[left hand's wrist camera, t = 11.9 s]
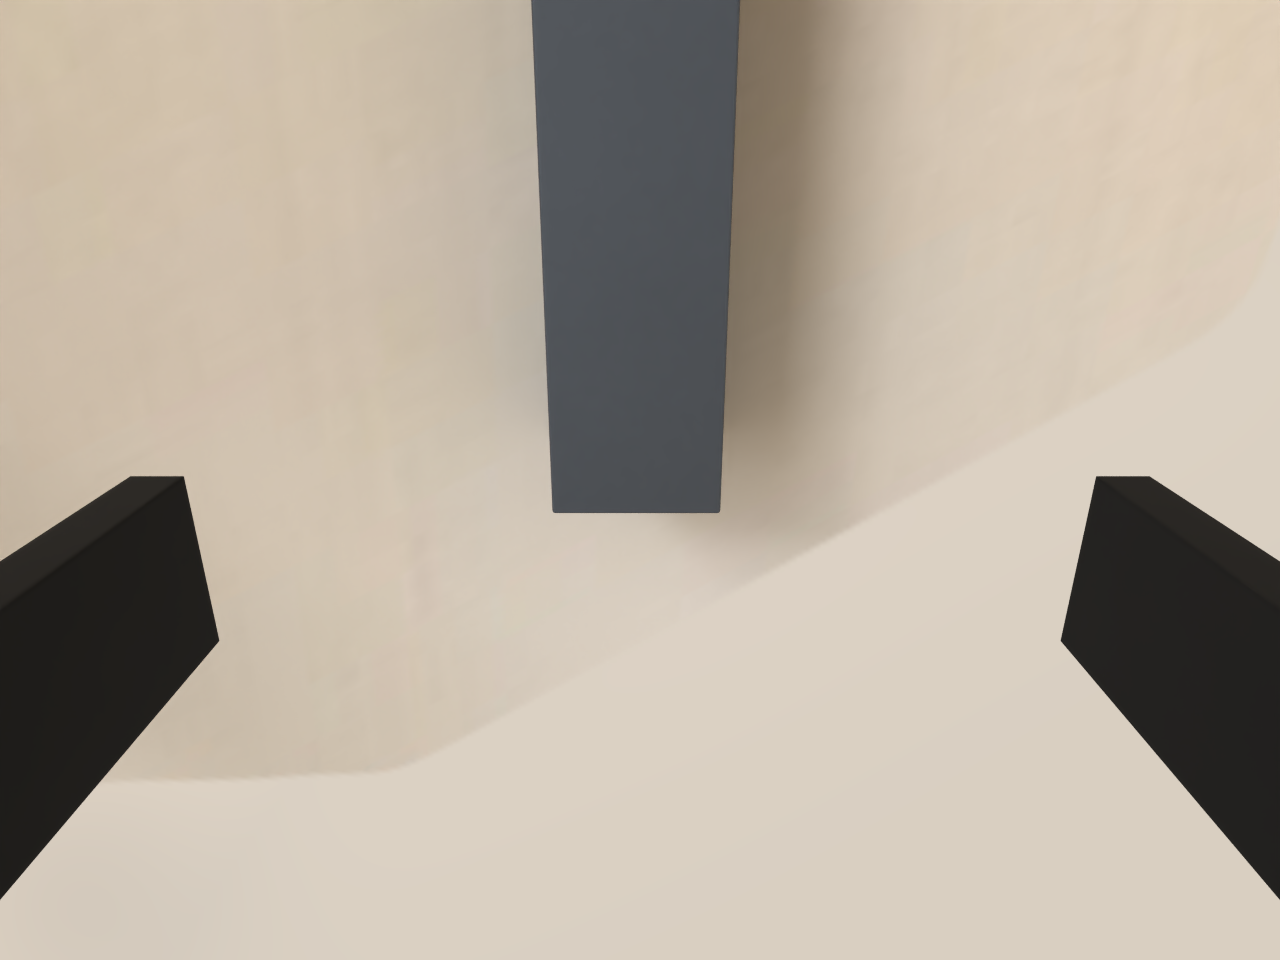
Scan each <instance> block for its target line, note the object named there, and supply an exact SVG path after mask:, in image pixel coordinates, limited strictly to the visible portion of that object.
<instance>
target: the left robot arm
mask: <svg viewBox="0 0 1280 960" xmlns="http://www.w3.org/2000/svg"><path fill="white" fill-rule="evenodd" d="M218 642H219V637H218V633H217V628H216V623H215V619H214V614H213V609H212V605H211V600H210V596H209V591H208V586H207V582H206V577H205V572H204V568H203V563H202V559H201V554H200V549H199V545H198V540H197V535H196V531H195V526H194V522H193V517H192V512H191V508H190V503H189V498H188V494H187V489H186V485H185V480H184V476H130V477H129V478H127V479H126V480H124V481H123V482H121V483H120V484H118V485H117V486H115V487H114V488H112V489H110V490H109V491H107V492H106V493H104V494H103V495H101V496H100V497H98V498H97V499H95V500H94V501H92V502H91V503H89V504H87V505H86V506H84V507H83V508H81V509H80V510H78V511H77V512H75V513H74V514H72V515H71V516H69V517H68V518H66V519H64V520H63V521H61V522H60V523H58V524H57V525H55V526H54V527H52V528H51V529H49V530H48V531H46V532H45V533H43V534H42V535H40V536H38V537H37V538H35V539H34V540H32V541H31V542H29V543H28V544H26V545H25V546H23V547H22V548H20V549H19V550H17V551H15V552H14V553H12V554H11V555H9V556H8V557H6V558H5V559H3V560H2V561H0V899H1V898H2V897H3V896H4V895H5V893H6V892H7V891H8V890H9V889H10V887H11V886H12V885H13V884H14V883H15V882H16V880H17V879H18V878H19V877H20V876H21V874H22V873H23V872H24V871H25V870H26V868H27V867H28V866H29V865H30V864H31V863H32V861H33V860H34V859H35V858H36V857H37V856H38V854H39V853H40V852H41V851H42V850H43V848H44V847H45V846H46V845H47V844H48V843H49V841H50V840H51V839H52V838H53V837H54V835H55V834H56V833H57V832H58V831H59V830H60V828H61V827H62V826H63V825H64V824H65V823H66V821H67V820H68V819H69V818H70V817H71V815H72V814H73V813H74V812H75V811H76V810H77V808H78V807H79V806H80V805H81V804H82V802H83V801H84V800H85V799H86V798H87V797H88V795H89V794H90V793H91V792H92V791H93V789H94V788H95V787H96V786H97V785H98V784H99V782H100V781H101V780H102V779H103V778H104V776H105V775H106V774H107V773H108V772H109V771H110V769H111V768H112V767H113V766H114V765H115V763H116V762H117V761H118V760H119V759H120V758H121V756H122V755H123V754H124V753H125V752H126V750H127V749H128V748H129V747H130V746H131V745H132V743H133V742H134V741H135V740H136V739H137V737H138V736H139V735H140V734H141V733H142V732H143V730H144V729H145V728H146V727H147V726H148V724H149V723H150V722H151V721H152V720H153V719H154V717H155V716H156V715H157V714H158V713H159V711H160V710H161V709H162V708H163V707H164V706H165V704H166V703H167V702H168V701H169V700H170V698H171V697H172V696H173V695H174V694H175V693H176V691H177V690H178V689H179V688H180V687H181V685H182V684H183V683H184V682H185V681H186V680H187V678H188V677H189V676H190V675H191V674H192V672H193V671H194V670H195V669H196V668H197V667H198V665H199V664H200V663H201V662H202V661H203V659H204V658H205V657H206V656H207V655H208V654H209V652H210V651H211V650H212V649H213V648H214V646H215V645H216V644H217V643H218ZM1061 642H1062V643H1063V644H1064V645H1065V646H1066V648H1067V649H1068V650H1069V651H1070V652H1071V654H1072V655H1073V656H1074V657H1075V658H1076V659H1077V661H1078V662H1079V663H1080V664H1081V665H1082V667H1083V668H1084V669H1085V670H1086V671H1087V672H1088V674H1089V675H1090V676H1091V677H1092V678H1093V680H1094V681H1095V682H1096V683H1097V684H1098V685H1099V687H1100V688H1101V689H1102V690H1103V691H1104V692H1105V694H1106V695H1107V696H1108V697H1109V698H1110V700H1111V701H1112V702H1113V703H1114V704H1115V706H1116V707H1117V708H1118V709H1119V710H1120V711H1121V713H1122V714H1123V715H1124V716H1125V717H1126V719H1127V720H1128V721H1129V722H1130V723H1131V724H1132V726H1133V727H1134V728H1135V729H1136V730H1137V732H1138V733H1139V734H1140V735H1141V736H1142V737H1143V739H1144V740H1145V741H1146V742H1147V743H1148V745H1149V746H1150V747H1151V748H1152V749H1153V750H1154V752H1155V753H1156V754H1157V755H1158V756H1159V757H1160V759H1161V760H1162V761H1163V762H1164V763H1165V765H1166V766H1167V767H1168V768H1169V769H1170V771H1171V772H1172V773H1173V774H1174V775H1175V776H1176V778H1177V779H1178V780H1179V781H1180V782H1181V784H1182V785H1183V786H1184V787H1185V788H1186V789H1187V791H1188V792H1189V793H1190V794H1191V795H1192V797H1193V798H1194V799H1195V800H1196V801H1197V802H1198V804H1199V805H1200V806H1201V807H1202V808H1203V809H1204V811H1205V812H1206V813H1207V814H1208V815H1209V817H1210V818H1211V819H1212V820H1213V821H1214V823H1215V824H1216V825H1217V826H1218V827H1219V828H1220V830H1221V831H1222V832H1223V833H1224V834H1225V835H1226V837H1227V838H1228V839H1229V840H1230V841H1231V843H1232V844H1233V845H1234V846H1235V847H1236V848H1237V850H1238V851H1239V852H1240V853H1241V854H1242V856H1243V857H1244V858H1245V859H1246V860H1247V861H1248V863H1249V864H1250V865H1251V866H1252V867H1253V869H1254V870H1255V871H1256V872H1257V873H1258V874H1259V876H1260V877H1261V878H1262V879H1263V880H1264V882H1265V883H1266V884H1267V885H1268V886H1269V887H1270V889H1271V890H1272V891H1273V892H1274V893H1275V895H1276V896H1277V897H1278V898H1279V899H1280V561H1278V560H1277V559H1275V558H1274V557H1272V556H1271V555H1269V554H1268V553H1266V552H1265V551H1263V550H1261V549H1260V548H1258V547H1257V546H1255V545H1254V544H1252V543H1251V542H1249V541H1248V540H1246V539H1245V538H1243V537H1242V536H1240V535H1238V534H1237V533H1235V532H1234V531H1232V530H1231V529H1229V528H1228V527H1226V526H1225V525H1223V524H1222V523H1220V522H1219V521H1217V520H1216V519H1214V518H1212V517H1211V516H1209V515H1208V514H1206V513H1205V512H1203V511H1202V510H1200V509H1199V508H1197V507H1196V506H1194V505H1192V504H1191V503H1189V502H1188V501H1186V500H1185V499H1183V498H1182V497H1180V496H1179V495H1177V494H1176V493H1174V492H1173V491H1171V490H1170V489H1168V488H1166V487H1165V486H1163V485H1162V484H1160V483H1159V482H1157V481H1156V480H1154V479H1153V478H1151V477H1149V476H1097V477H1096V480H1095V485H1094V489H1093V494H1092V499H1091V503H1090V508H1089V512H1088V517H1087V522H1086V526H1085V531H1084V535H1083V540H1082V545H1081V549H1080V554H1079V559H1078V563H1077V568H1076V573H1075V577H1074V582H1073V586H1072V591H1071V596H1070V600H1069V605H1068V609H1067V614H1066V619H1065V623H1064V628H1063V633H1062V637H1061Z"/></svg>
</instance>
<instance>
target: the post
mask: <svg viewBox="0 0 1280 960" xmlns="http://www.w3.org/2000/svg"><path fill="white" fill-rule="evenodd" d="M531 4H532V28H533V52H534V76H535V100H536V124H537V148H538V172H539V196H540V220H541V244H542V268H543V293H544V317H545V341H546V365H547V389H548V413H549V437H550V461H551V485H552V509H553V512H554V513H719V512H720V500H721V475H722V449H723V423H724V398H725V372H726V347H727V321H728V295H729V270H730V244H731V218H732V193H733V167H734V141H735V116H736V90H737V64H738V39H739V13H740V0H531Z"/></svg>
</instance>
